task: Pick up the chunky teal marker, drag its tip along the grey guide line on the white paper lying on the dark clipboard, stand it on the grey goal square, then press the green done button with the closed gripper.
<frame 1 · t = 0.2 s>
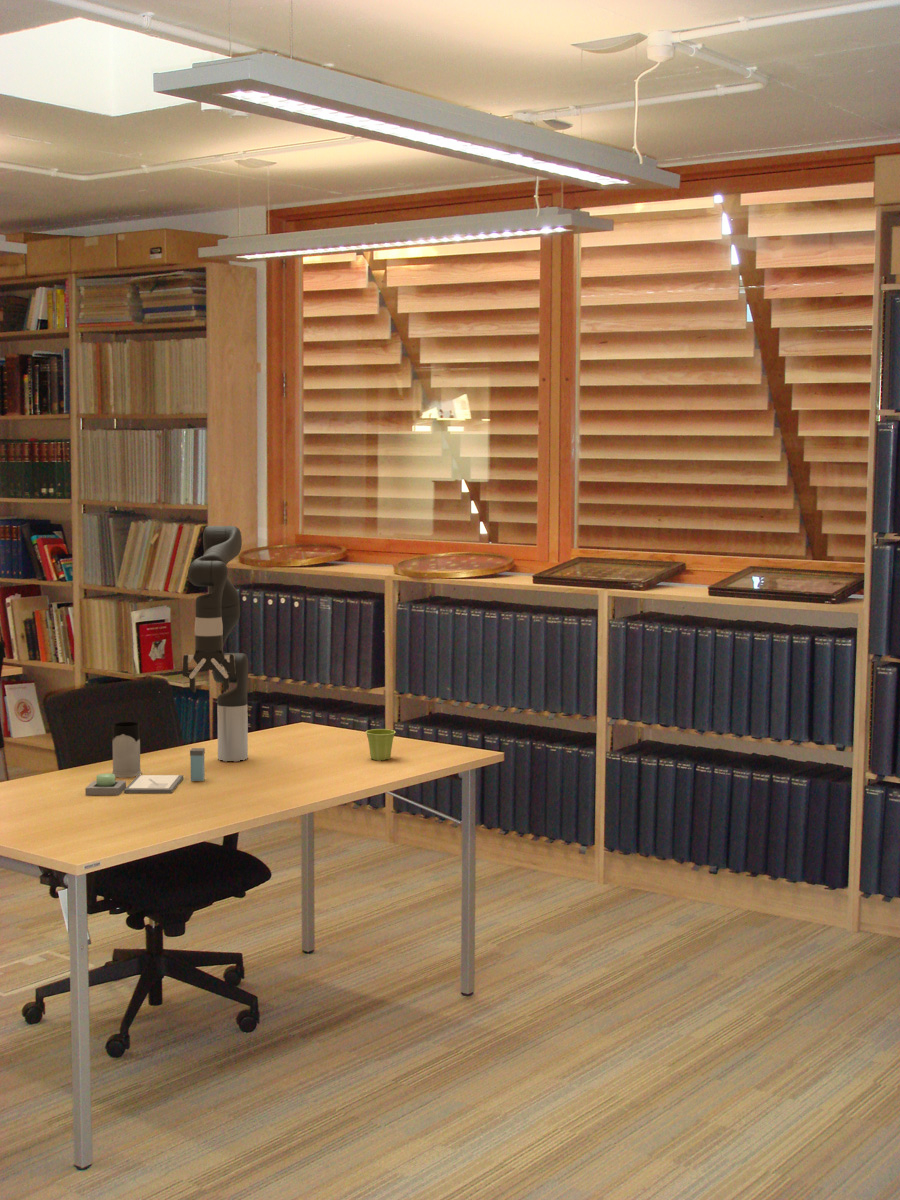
hand: (209, 691, 354), 28 cm above the table, tool pointing down, fingers open, 8 cm apart
plant pot: (380, 759, 402), on the table
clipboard: (154, 785, 364), on the table
done button: (105, 779, 356), point 3 cm above the table, slide at 0.0 cm
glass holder: (128, 773, 380), on the table
button housing: (105, 791, 356), on the table
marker: (197, 780, 371), on the table
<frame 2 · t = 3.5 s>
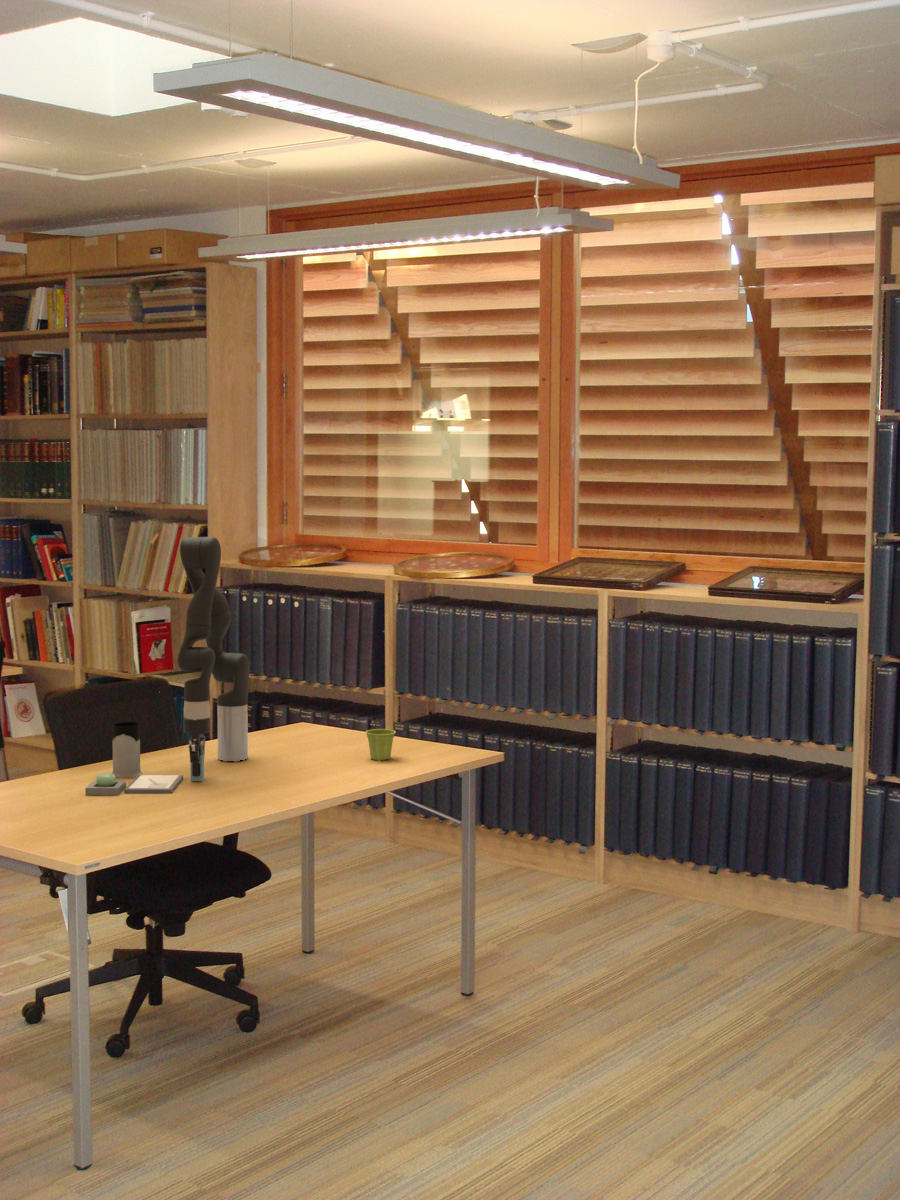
hand: (197, 774, 371), 2 cm above the table, tool pointing down, fingers closed on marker, 3 cm apart
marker: (197, 780, 371), on the table, touching gripper
everything else where it was.
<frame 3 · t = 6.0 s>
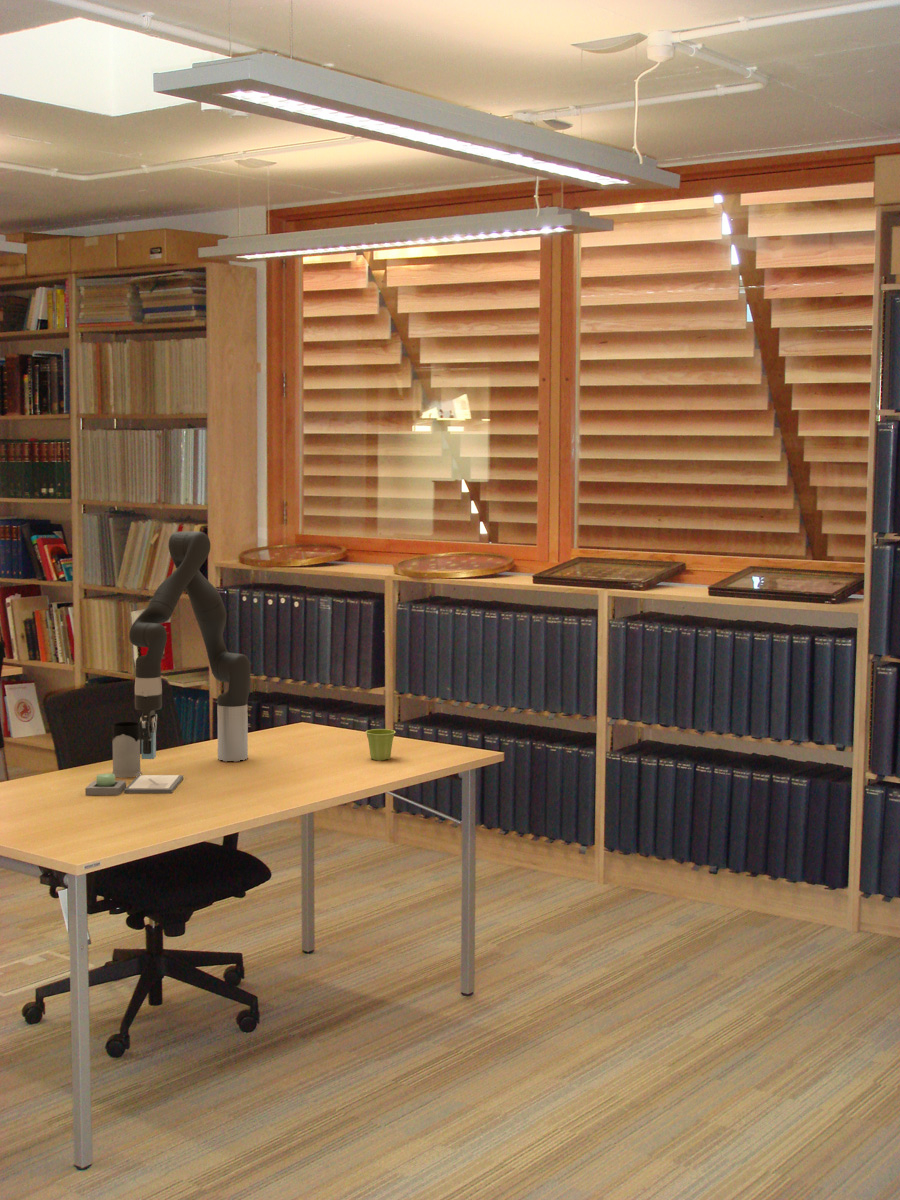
hand: (148, 752, 366), 9 cm above the table, tool pointing down, fingers closed on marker, 3 cm apart
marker: (148, 757, 366), point 7 cm above the table, touching gripper
everything else where it was.
when the fingers open (3 cm above the table, at t = 8.7 s): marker stays where it is, resting on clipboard.
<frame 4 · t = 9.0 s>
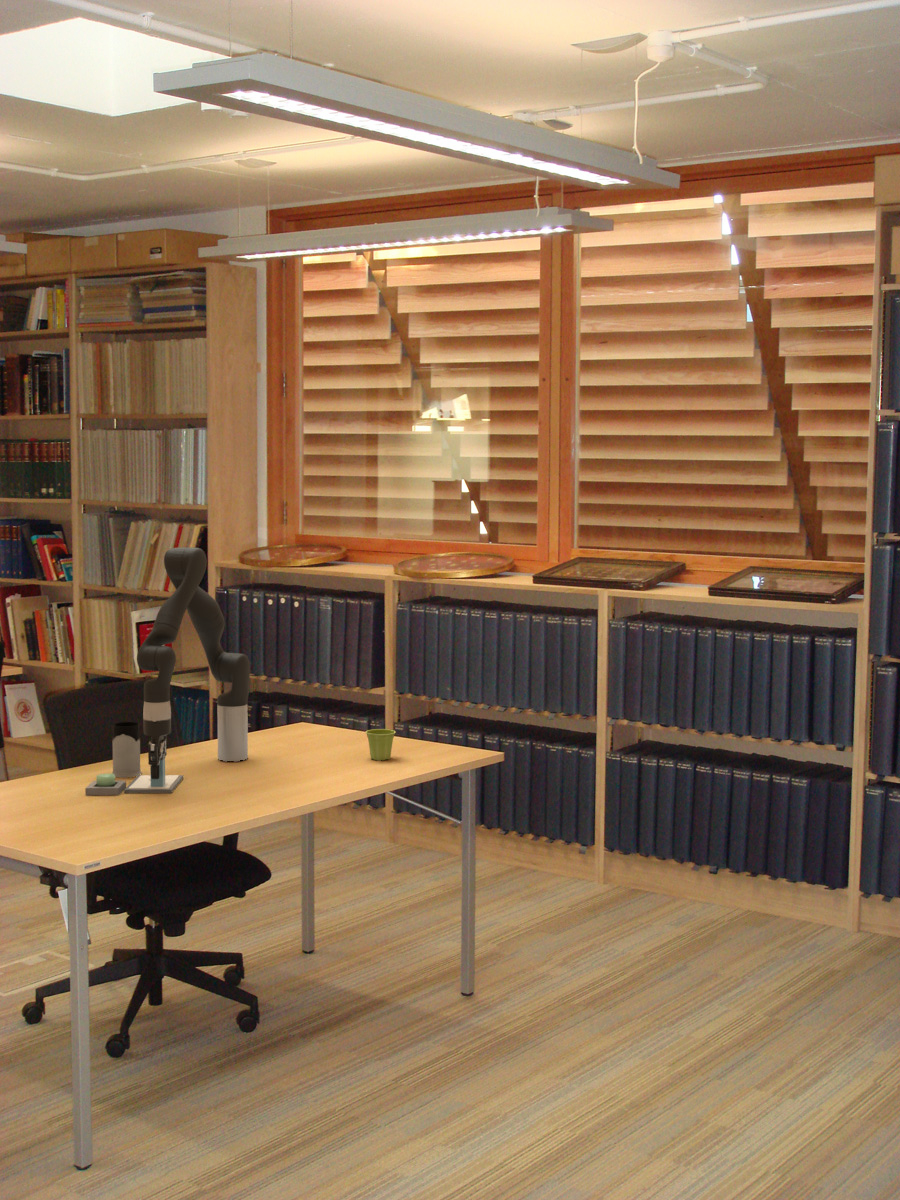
hand: (157, 775, 358), 4 cm above the table, tool pointing down, fingers open, 6 cm apart
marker: (158, 785, 359), point 1 cm above the table, touching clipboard
everything else where it was.
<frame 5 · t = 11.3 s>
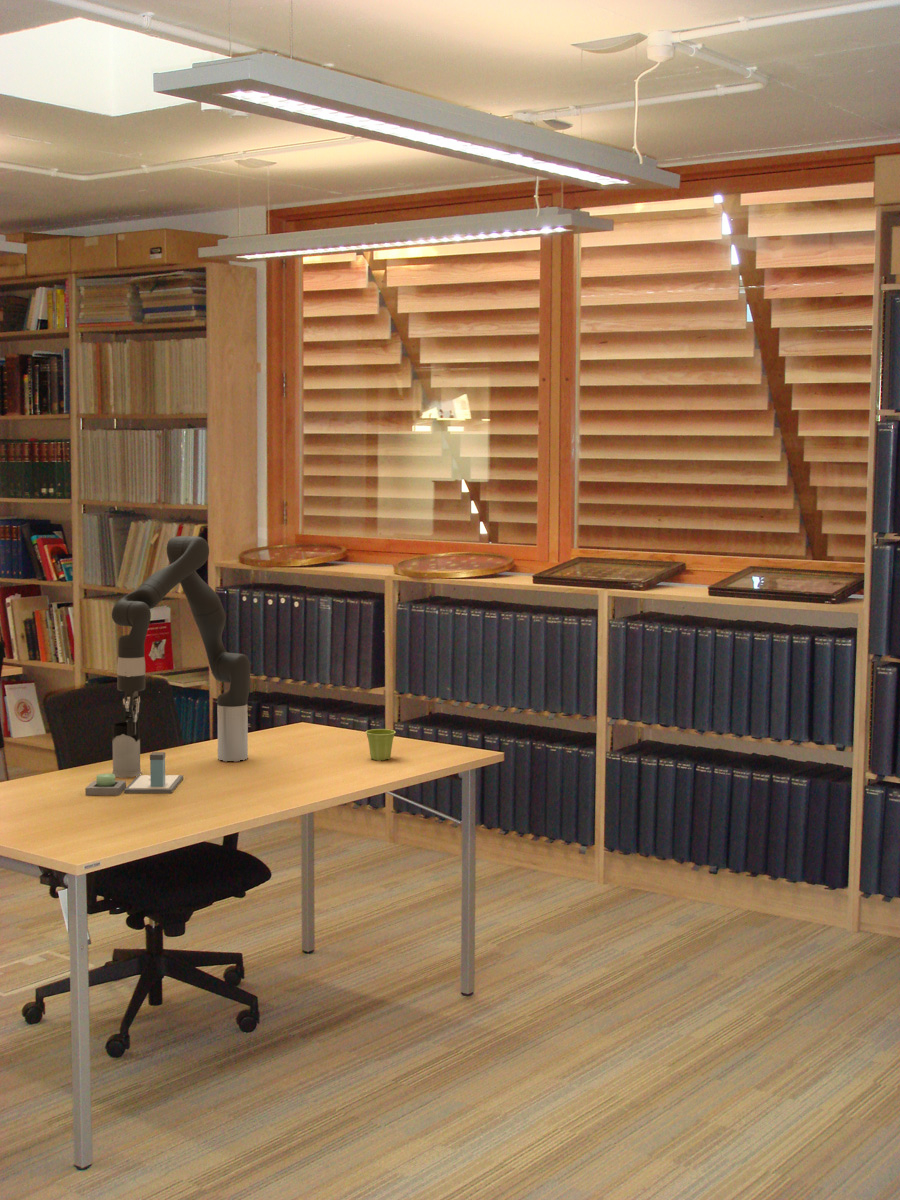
hand: (131, 735, 355), 16 cm above the table, tool pointing down, fingers closed
nothing on the table moved.
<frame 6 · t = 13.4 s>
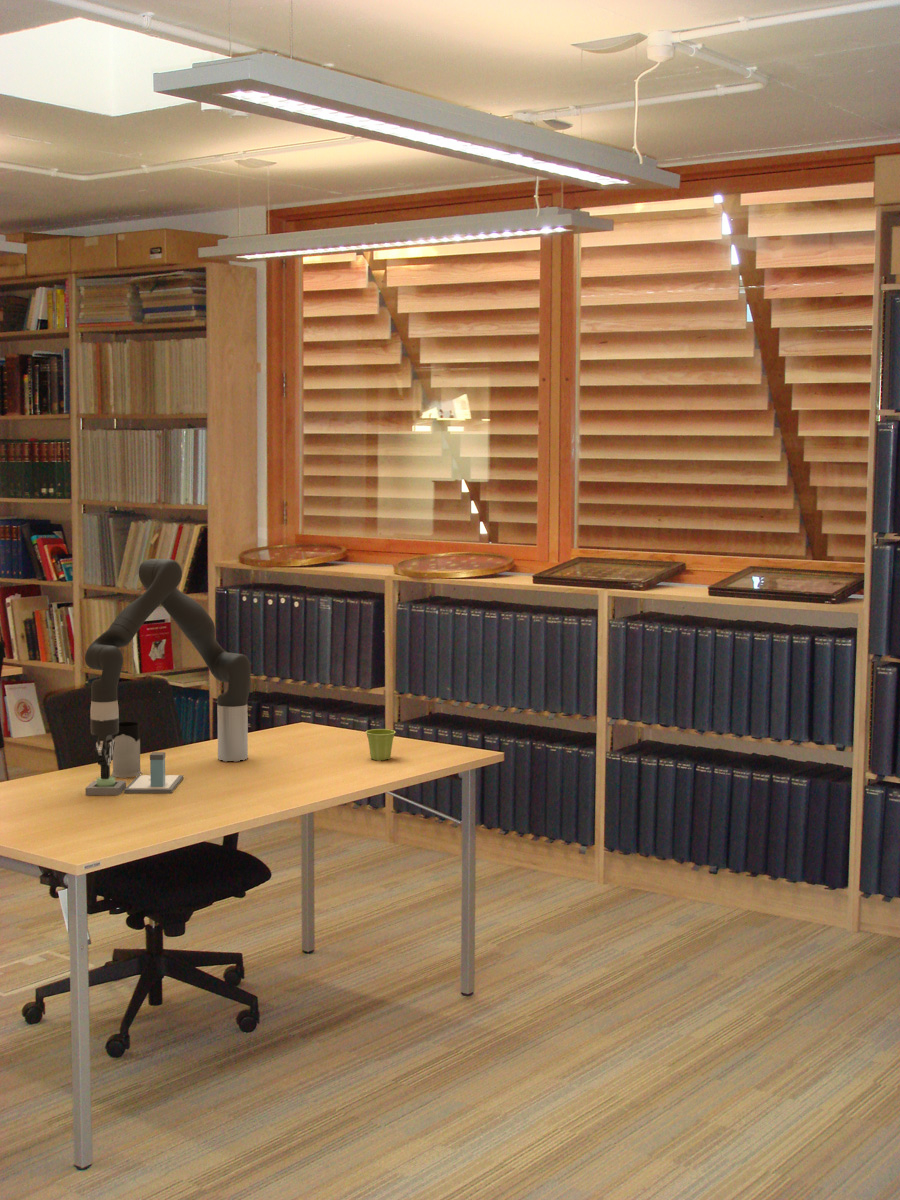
hand: (105, 778, 356), 4 cm above the table, tool pointing down, fingers closed
done button: (105, 782, 356), point 2 cm above the table, slide at 0.8 cm, touching gripper
everything else where it was.
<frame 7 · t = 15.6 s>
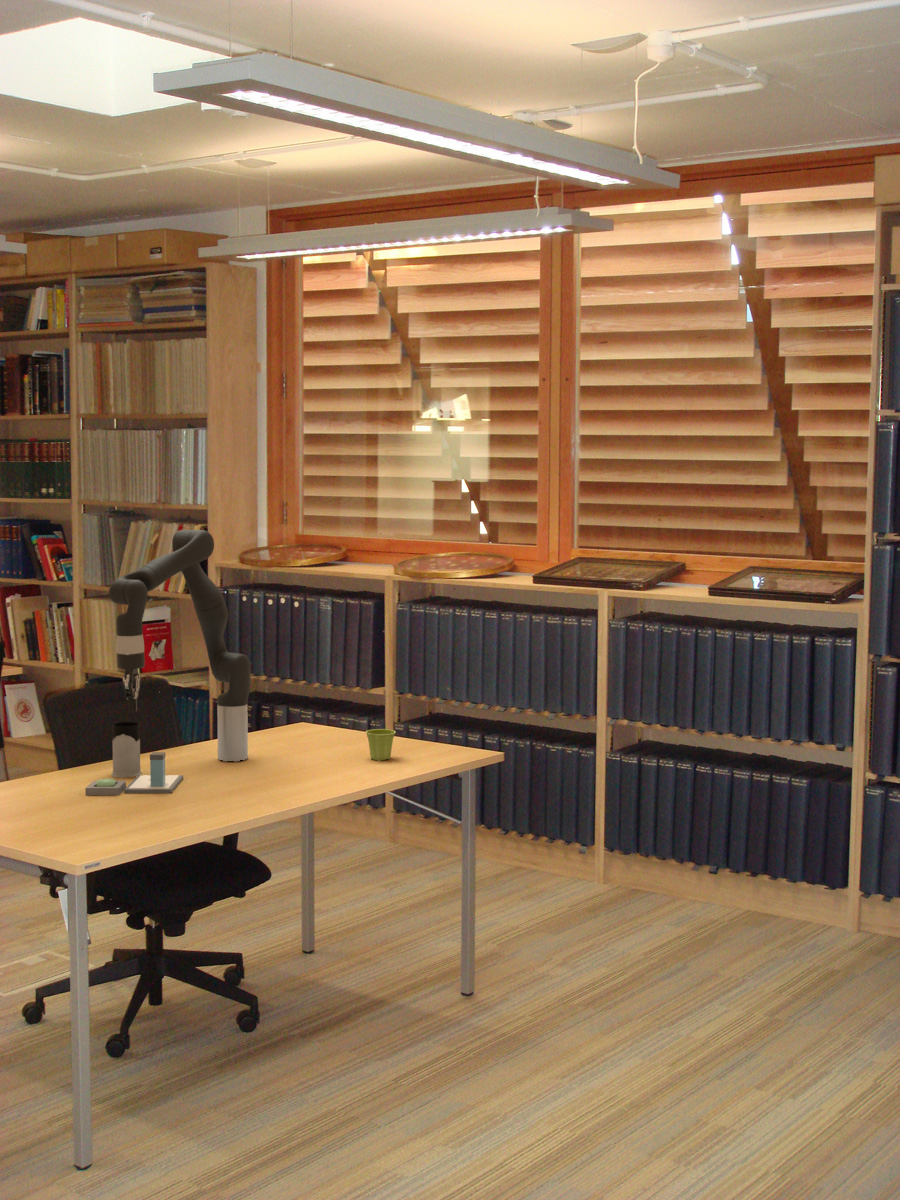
hand: (132, 712, 359), 22 cm above the table, tool pointing down, fingers closed
done button: (105, 785, 356), point 2 cm above the table, slide at 1.5 cm
everything else where it was.
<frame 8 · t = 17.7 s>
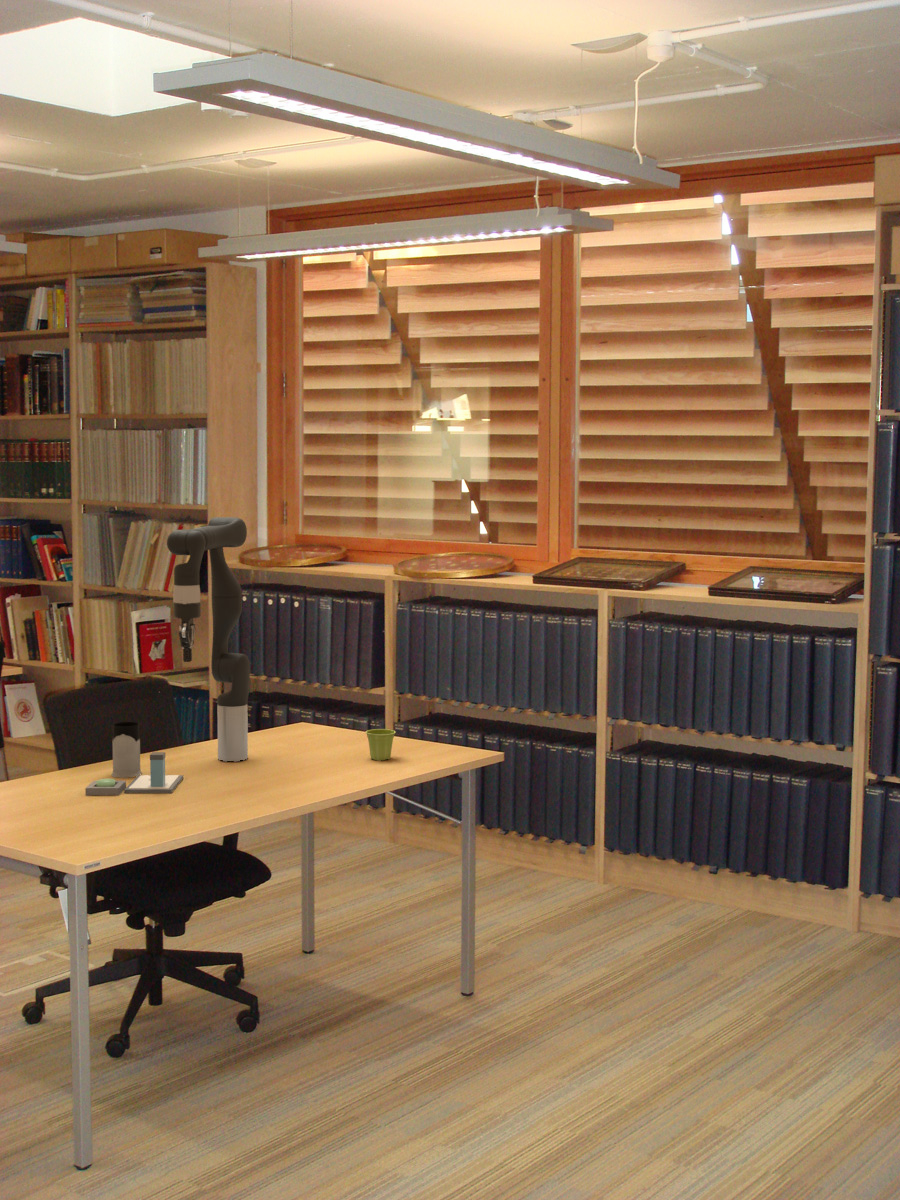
hand: (187, 661, 365), 35 cm above the table, tool pointing down, fingers closed
nothing on the table moved.
at the end: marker inside the target area on the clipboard (0.1 cm from its centre), point 1.3 cm above the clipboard's base; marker tilted 0°; done button slide at 1.5 cm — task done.
